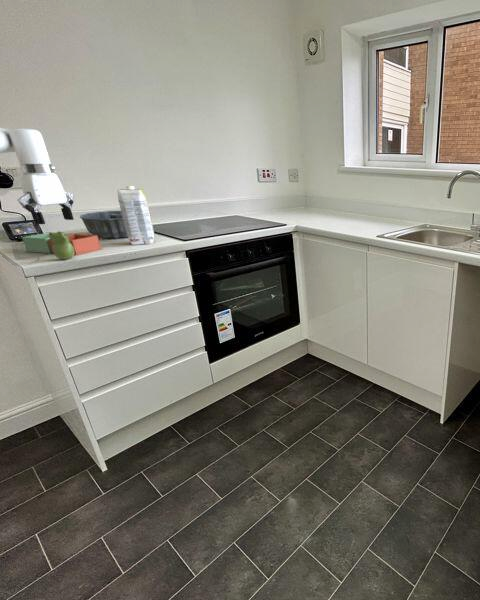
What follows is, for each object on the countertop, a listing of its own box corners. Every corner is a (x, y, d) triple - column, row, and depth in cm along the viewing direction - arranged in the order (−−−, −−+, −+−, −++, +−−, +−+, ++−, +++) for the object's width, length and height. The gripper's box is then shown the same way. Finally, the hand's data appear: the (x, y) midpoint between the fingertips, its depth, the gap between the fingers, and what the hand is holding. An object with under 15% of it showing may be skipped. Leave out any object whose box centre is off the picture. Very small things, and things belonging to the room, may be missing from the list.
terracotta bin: (76, 255, 133) (72, 240, 131) (53, 253, 134) (48, 238, 132) (101, 249, 142) (97, 235, 140) (79, 247, 144) (74, 234, 142)
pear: (79, 257, 131) (70, 230, 127) (73, 260, 126) (64, 233, 122) (60, 258, 129) (51, 230, 125) (53, 261, 124) (43, 233, 120)
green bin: (50, 253, 134) (45, 238, 132) (26, 251, 135) (21, 237, 133) (76, 247, 144) (72, 233, 142) (54, 245, 145) (49, 232, 143)
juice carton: (156, 240, 160) (144, 185, 151) (155, 244, 154) (142, 187, 145) (131, 242, 156) (117, 185, 147) (128, 245, 149) (113, 187, 140)
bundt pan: (161, 236, 169) (156, 215, 165) (90, 243, 151) (84, 220, 147) (146, 228, 185) (142, 209, 182) (81, 234, 167) (75, 212, 164)
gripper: (54, 169, 125) (70, 217, 131) (-3, 170, 109) (18, 225, 115) (73, 169, 124) (88, 218, 130) (17, 170, 108) (38, 226, 114)
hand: (55, 221), depth 122 cm, fingers open, 9 cm apart
